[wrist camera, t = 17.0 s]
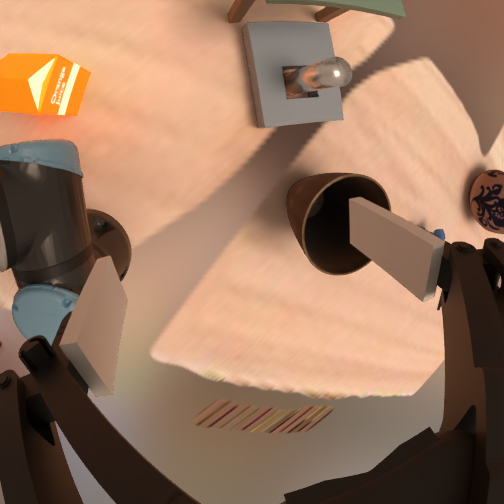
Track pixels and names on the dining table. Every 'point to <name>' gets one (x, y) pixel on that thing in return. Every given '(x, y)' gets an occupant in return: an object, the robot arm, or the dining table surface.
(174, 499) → the robot arm
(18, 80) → the orange juice
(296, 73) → the steel peg
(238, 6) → the awning
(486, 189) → the ceramic pitcher
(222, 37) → the dining table surface
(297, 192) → the plant pot
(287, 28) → the socket block
